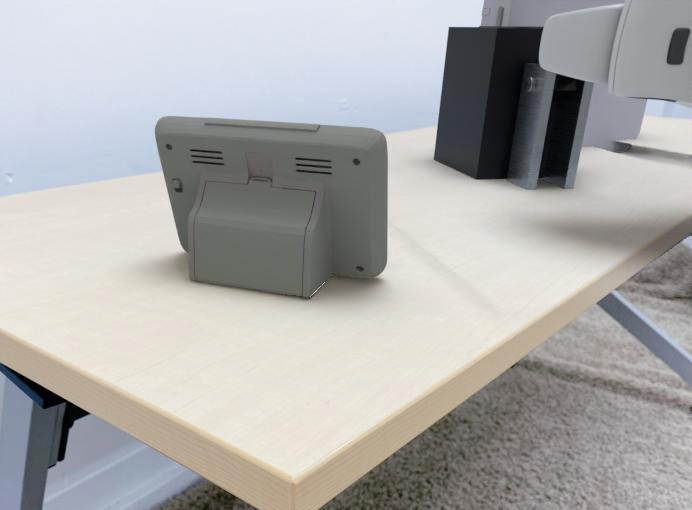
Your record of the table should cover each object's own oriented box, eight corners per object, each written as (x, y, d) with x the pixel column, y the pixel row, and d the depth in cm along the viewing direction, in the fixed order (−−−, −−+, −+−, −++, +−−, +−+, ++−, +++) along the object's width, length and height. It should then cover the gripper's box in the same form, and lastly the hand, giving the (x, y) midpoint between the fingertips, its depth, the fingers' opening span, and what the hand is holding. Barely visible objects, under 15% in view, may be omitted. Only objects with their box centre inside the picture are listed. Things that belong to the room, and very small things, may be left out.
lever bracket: (582, 201, 72) (609, 65, 66) (516, 202, 71) (539, 66, 65) (555, 190, 76) (579, 63, 71) (494, 191, 75) (513, 63, 70)
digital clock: (398, 278, 49) (414, 120, 45) (337, 318, 43) (348, 137, 38) (213, 240, 58) (212, 104, 54) (138, 268, 51) (129, 115, 47)
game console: (456, 157, 94) (476, -9, 86) (601, 145, 105) (631, -4, 97) (486, 165, 89) (512, -11, 81) (635, 151, 100) (671, -6, 92)
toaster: (570, 188, 77) (602, 27, 70) (474, 191, 75) (497, 26, 69) (517, 168, 88) (540, 26, 81) (432, 169, 86) (448, 25, 80)
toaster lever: (655, 49, 60) (652, 21, 60) (588, 49, 59) (586, 21, 59) (578, 101, 71) (576, 78, 71) (521, 102, 70) (519, 78, 70)
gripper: (900, -6, 47) (741, -1, 60) (617, -8, 45) (512, -2, 57) (866, 93, 50) (720, 79, 62) (596, 97, 47) (500, 81, 60)
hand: (619, 40), depth 60 cm, fingers open, 8 cm apart
